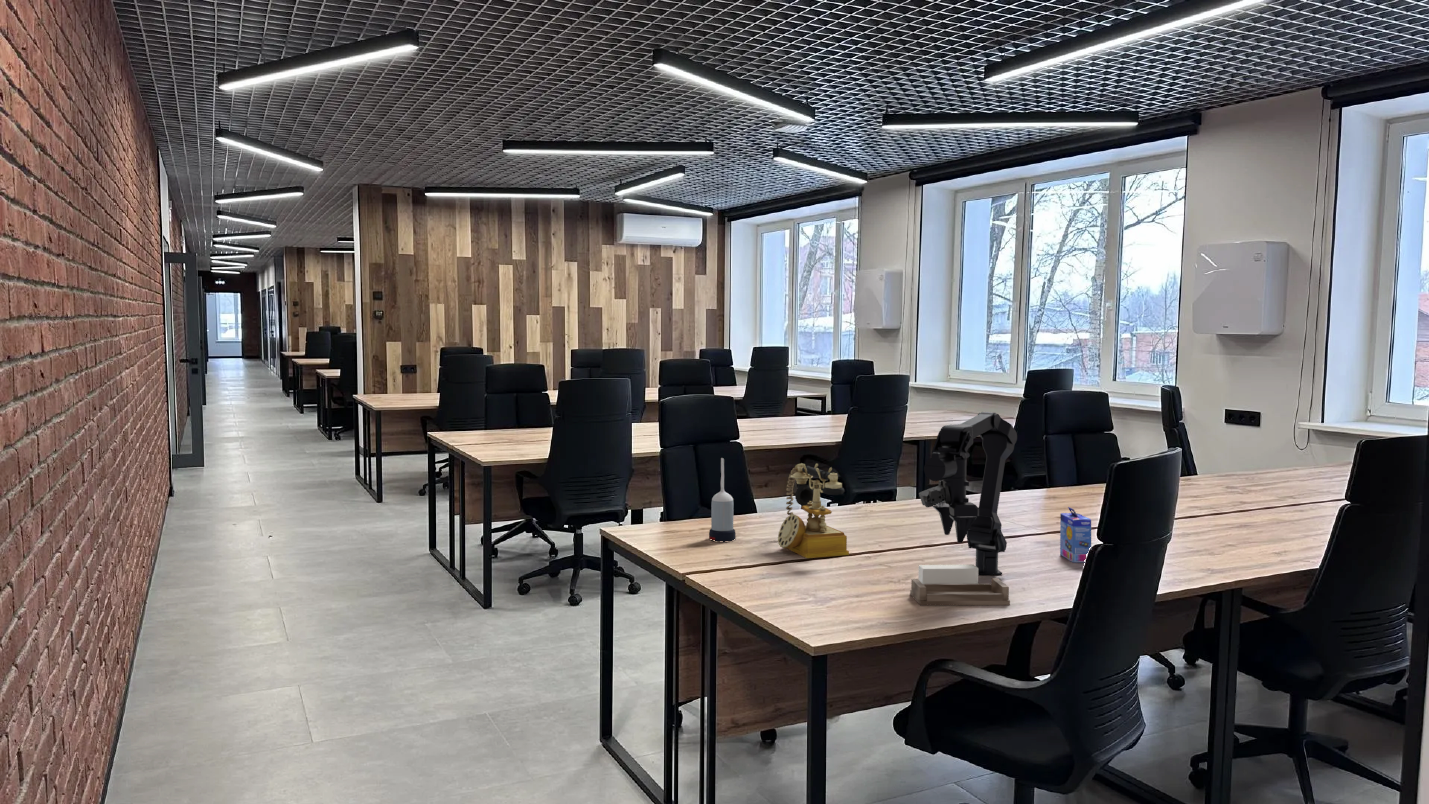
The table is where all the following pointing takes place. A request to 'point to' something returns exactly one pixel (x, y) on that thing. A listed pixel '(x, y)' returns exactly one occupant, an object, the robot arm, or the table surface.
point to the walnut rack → (960, 593)
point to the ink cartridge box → (1074, 536)
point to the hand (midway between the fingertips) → (953, 538)
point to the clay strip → (948, 574)
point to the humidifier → (722, 514)
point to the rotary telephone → (815, 534)
